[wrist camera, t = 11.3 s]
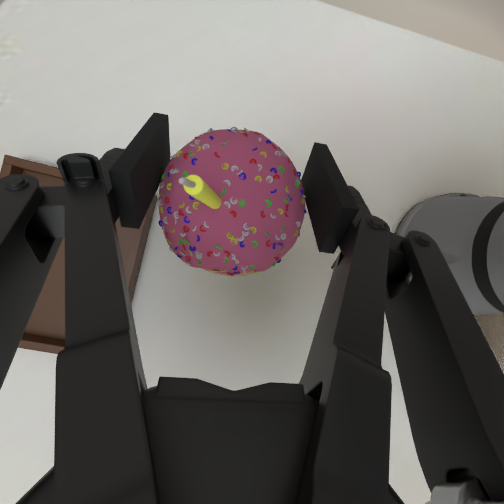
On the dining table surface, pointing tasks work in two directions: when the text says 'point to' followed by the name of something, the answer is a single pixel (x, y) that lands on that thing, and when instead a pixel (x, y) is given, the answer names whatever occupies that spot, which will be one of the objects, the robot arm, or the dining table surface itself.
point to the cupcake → (231, 202)
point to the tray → (53, 292)
